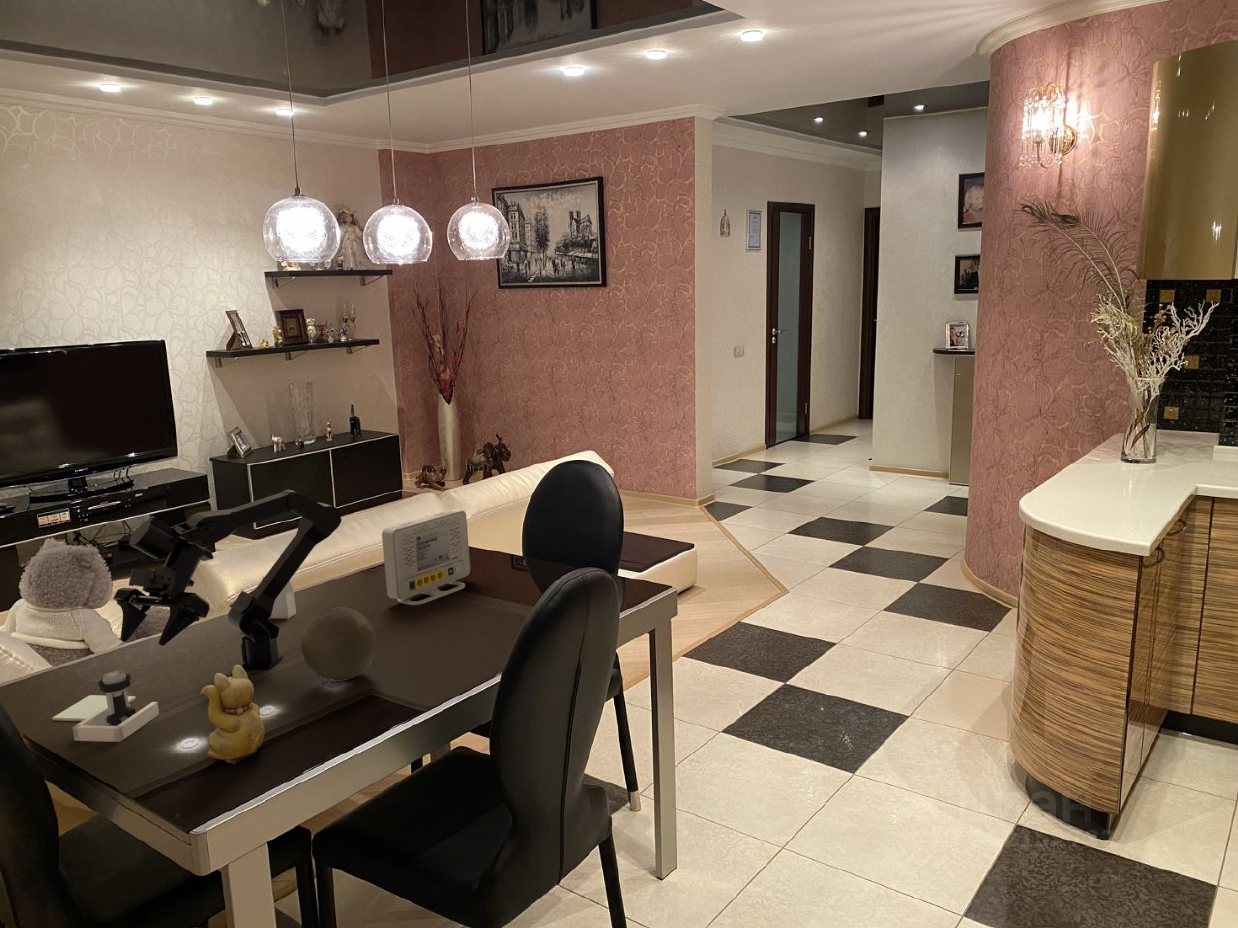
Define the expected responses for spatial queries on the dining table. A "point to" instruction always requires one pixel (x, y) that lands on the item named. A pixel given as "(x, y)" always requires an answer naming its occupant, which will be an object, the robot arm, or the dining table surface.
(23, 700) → the dining table surface
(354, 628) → the cantaloupe
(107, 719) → the push button
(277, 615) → the white faceted block
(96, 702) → the mat
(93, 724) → the white u-shaped bracket
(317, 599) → the dining table surface
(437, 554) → the network device
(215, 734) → the decorative figurine
